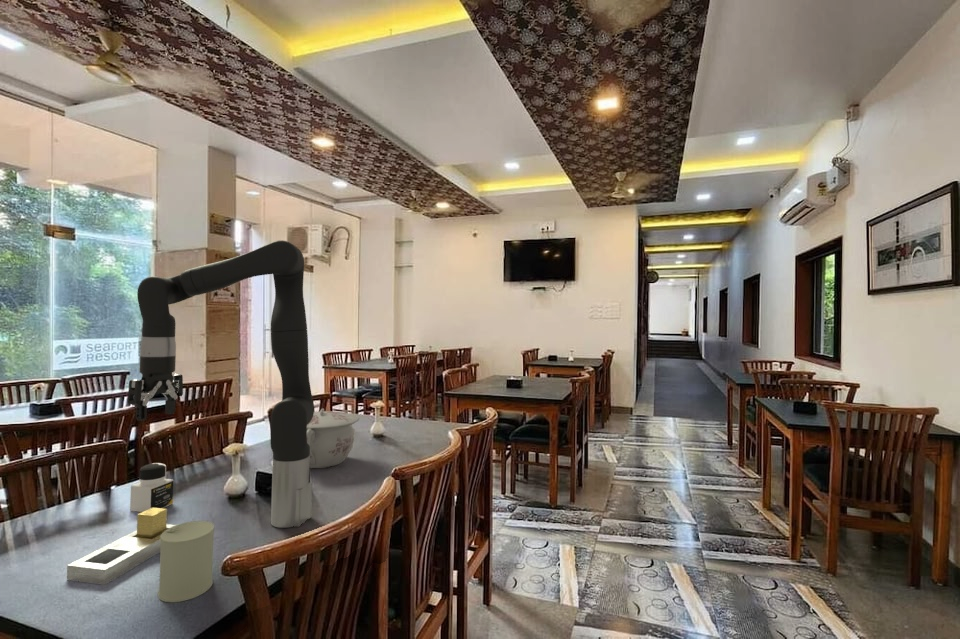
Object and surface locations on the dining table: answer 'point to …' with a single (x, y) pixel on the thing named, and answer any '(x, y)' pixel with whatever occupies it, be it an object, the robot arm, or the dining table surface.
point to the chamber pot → (330, 437)
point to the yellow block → (151, 523)
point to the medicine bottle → (151, 489)
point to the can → (186, 561)
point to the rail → (114, 559)
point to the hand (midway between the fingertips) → (156, 417)
